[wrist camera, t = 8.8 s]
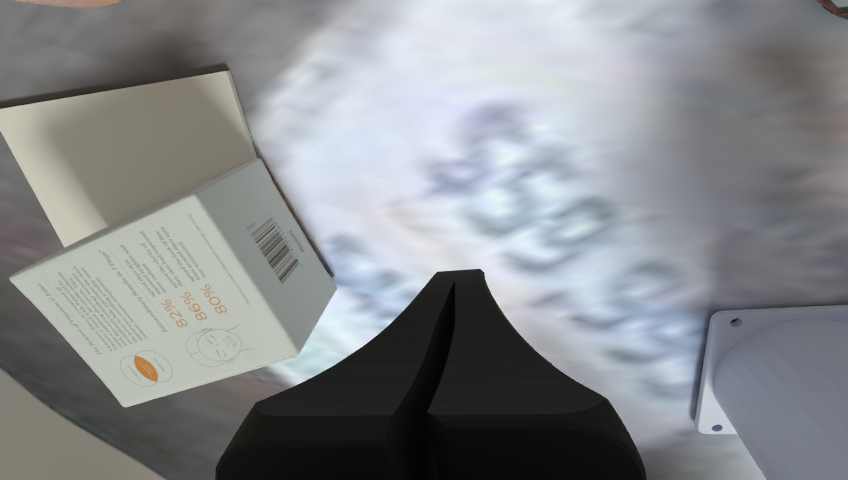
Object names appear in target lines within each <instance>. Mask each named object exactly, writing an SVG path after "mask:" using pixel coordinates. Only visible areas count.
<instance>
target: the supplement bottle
mask: <svg viewBox="0 0 848 480" xmlns="http://www.w3.org/2000/svg"><path fill="white" fill-rule="evenodd" d="M818 1H819V2H820V3H821V4H822V5H823V7H824V8H825V9H826V10H828V11H829V12H831V13H833V14H835V15H837V16H840V17H842V18H845V19H848V0H818Z"/></svg>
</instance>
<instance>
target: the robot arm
mask: <svg viewBox="0 0 848 480" xmlns="http://www.w3.org/2000/svg"><path fill="white" fill-rule="evenodd" d="M736 318H738V319H737V320H736V321H735V322H731V321H732V320H733V319H736ZM695 427H696V429H697V430H698V431H699V432H700V433H702V434H738V435H739V437H740V438H741V440H742V441H743V443H744V445H745V446H746V448H747V449H748V451H749V452H750V454H751V456H752V457H753V459H754V460H755V462H756V463H757V465H758V467H759V468H760V470H761V471H762V473H763V474H764V476H765V478H766V479H767V480H848V305H831V306H810V307H788V308H767V309H746V310H724V311H718V312H716V313H714V314H713V315H712V316H711V319H710V323H709V330H708V337H707V343H706V350H705V357H704V363H703V370H702V376H701V383H700V390H699V396H698V403H697V410H696V416H695ZM215 480H646V473H645V468H644V465H643V462H642V459H641V457H640V455H639V452H638V450H637V448H636V446H635V444H634V442H633V440H632V438H631V436H630V435H629V433H628V431H627V429H626V427H625V426H624V424H623V422H622V421H621V419H620V417H619V416H618V414H617V413H616V411H615V409H614V408H613V406H612V405H611V403H610V402H609V400H608V399H606V398H605V397H603V396H602V395H600V394H598V393H596V392H594V391H593V390H591V389H589V388H587V387H585V386H584V385H582V384H580V383H578V382H576V381H575V380H573V379H572V378H570V377H568V376H567V375H566V374H564V373H563V372H561V371H560V370H558V369H557V368H556V367H554V366H553V365H552V364H551V363H550V362H548V361H547V360H546V359H545V358H543V357H542V356H541V355H540V354H539V353H537V352H536V351H535V350H534V349H533V348H532V347H531V346H530V345H529V344H528V343H527V342H526V341H525V340H524V339H523V338H522V336H521V335H520V334H519V333H518V332H517V331H516V330H515V328H514V327H513V326H512V325H511V324H510V322H509V321H508V319H507V318H506V317H505V315H504V314H503V313H502V311H501V310H500V308H499V306H498V305H497V303H496V301H495V300H494V298H493V296H492V294H491V292H490V290H489V288H488V286H487V284H486V281H485V276H484V272H483V271H482V270H481V269H472V270H458V271H443V272H437V273H436V274H435V275H434V276H433V277H432V278H431V279H430V281H429V282H428V283H427V284H426V286H425V287H424V288H423V289H422V290H421V292H420V293H419V294H418V295H417V296H416V298H415V299H414V300H413V301H412V302H411V303H410V304H409V305H408V307H407V308H406V309H405V310H404V311H403V312H402V313H401V314H400V315H399V316H398V317H397V318H396V319H395V320H394V321H393V322H392V323H391V324H390V325H389V326H388V327H387V328H385V329H384V330H383V331H382V332H381V333H380V334H378V335H377V336H376V337H375V338H373V339H372V340H371V341H370V342H368V343H367V344H366V345H364V346H363V347H362V348H360V349H359V350H357V351H356V352H354V353H353V354H351V355H350V356H348V357H346V358H345V359H343V360H342V361H340V362H339V363H337V364H336V365H334V366H332V367H331V368H329V369H327V370H325V371H324V372H322V373H320V374H318V375H316V376H314V377H312V378H310V379H308V380H307V381H305V382H302V383H300V384H298V385H296V386H294V387H292V388H289V389H287V390H285V391H282V392H280V393H278V394H276V395H273V396H271V397H269V398H266V399H264V400H261V401H259V402H256V403H255V405H254V406H253V408H252V409H251V410H250V412H249V414H248V415H247V417H246V418H245V420H244V421H243V423H242V424H241V426H240V428H239V429H238V431H237V432H236V434H235V436H234V437H233V439H232V440H231V442H230V444H229V445H228V447H227V448H226V450H225V452H224V453H223V455H222V456H221V458H220V460H219V462H218V464H217V466H216V476H215Z"/></svg>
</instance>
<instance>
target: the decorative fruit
mask: <svg viewBox="0 0 848 480" xmlns="http://www.w3.org/2000/svg"><path fill="white" fill-rule="evenodd" d="M15 1H22V2H28V3H36V4H44V5H52V6H64V7H101V6H106V5H110V4H114V3H117V2H120V1H122V0H15Z"/></svg>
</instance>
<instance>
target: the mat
mask: <svg viewBox="0 0 848 480" xmlns="http://www.w3.org/2000/svg"><path fill="white" fill-rule="evenodd" d="M0 131H1V133H2V135H3V136H4V138H5V140H6V142H7V144H8V145H9V147H10V149H11V151H12V153H13V155H14V156H15V158H16V160H17V162H18V164H19V165H20V167H21V169H22V171H23V173H24V175H25V176H26V178H27V180H28V182H29V184H30V185H31V187H32V189H33V191H34V193H35V195H36V196H37V198H38V200H39V202H40V204H41V206H42V207H43V209H44V211H45V213H46V215H47V216H48V218H49V220H50V222H51V224H52V226H53V227H54V229H55V231H56V233H57V235H58V236H59V238H60V240H61V242H62V244H63V246H64V247H67V246H69V245H71V244H73V243H75V242H77V241H79V240H81V239H83V238H85V237H87V236H89V235H91V234H93V233H95V232H97V231H100V230H102V229H104V228H106V227H108V226H110V225H112V224H114V223H116V222H118V221H121V220H123V219H125V218H127V217H129V216H131V215H133V214H135V213H138V212H140V211H142V210H144V209H146V208H148V207H150V206H152V205H155V204H157V203H159V202H161V201H163V200H165V199H168V198H170V197H172V196H174V195H176V194H178V193H181V192H183V191H185V190H187V189H189V188H191V187H194V186H196V185H198V184H200V183H202V182H205V181H207V180H209V179H211V178H213V177H215V176H218V175H220V174H222V173H224V172H226V171H229V170H231V169H233V168H235V167H238V166H240V165H242V164H244V163H246V162H249V161H251V160H253V159H255V158H257V155H256V152H255V149H254V146H253V142H252V139H251V136H250V133H249V130H248V127H247V123H246V120H245V117H244V114H243V111H242V107H241V104H240V101H239V98H238V95H237V91H236V88H235V85H234V82H233V79H232V75H231V72H230V71H223V72H217V73H211V74H205V75H199V76H193V77H187V78H181V79H175V80H169V81H163V82H158V83H152V84H146V85H140V86H134V87H128V88H122V89H116V90H110V91H104V92H98V93H92V94H86V95H80V96H74V97H68V98H62V99H56V100H51V101H45V102H39V103H33V104H27V105H21V106H15V107H9V108H3V109H0Z"/></svg>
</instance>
